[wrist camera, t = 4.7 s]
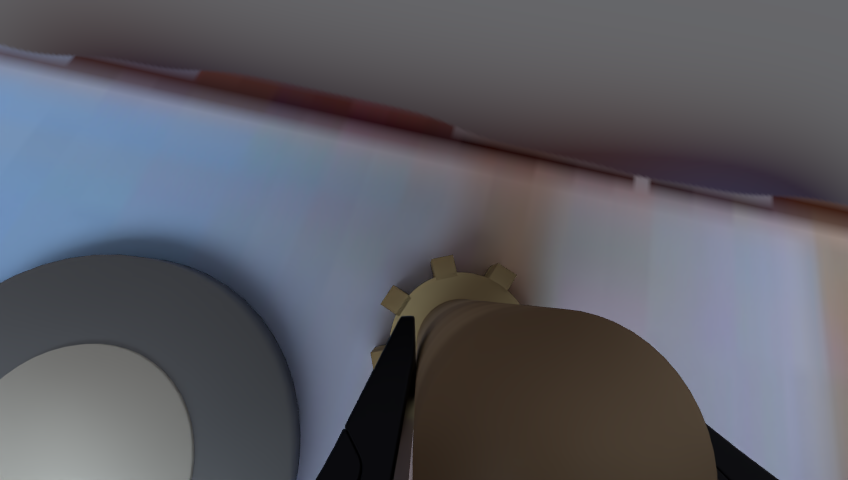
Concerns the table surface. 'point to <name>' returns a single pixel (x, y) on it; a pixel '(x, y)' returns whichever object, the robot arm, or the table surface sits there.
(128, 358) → the disc
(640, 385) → the gear
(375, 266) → the table surface
